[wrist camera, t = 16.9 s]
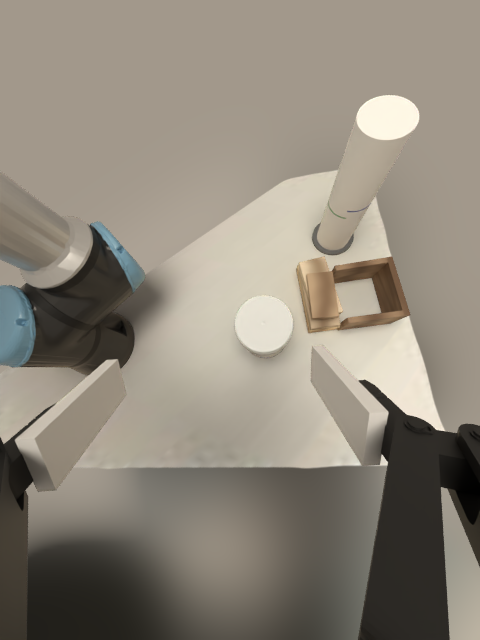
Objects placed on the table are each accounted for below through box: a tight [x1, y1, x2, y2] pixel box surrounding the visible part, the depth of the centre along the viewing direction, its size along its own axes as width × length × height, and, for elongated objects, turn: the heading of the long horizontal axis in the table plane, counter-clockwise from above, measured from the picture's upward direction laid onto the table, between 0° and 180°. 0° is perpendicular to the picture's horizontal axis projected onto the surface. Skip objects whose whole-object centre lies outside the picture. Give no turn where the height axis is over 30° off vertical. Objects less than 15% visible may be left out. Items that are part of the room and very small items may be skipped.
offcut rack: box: [296, 256, 410, 333], centre depth 45 cm, size 17×15×7 cm
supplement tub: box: [235, 295, 293, 358], centre depth 42 cm, size 10×10×15 cm
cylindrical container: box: [317, 95, 419, 250], centre depth 40 cm, size 7×7×25 cm
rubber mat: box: [312, 223, 353, 255], centre depth 52 cm, size 9×9×1 cm
